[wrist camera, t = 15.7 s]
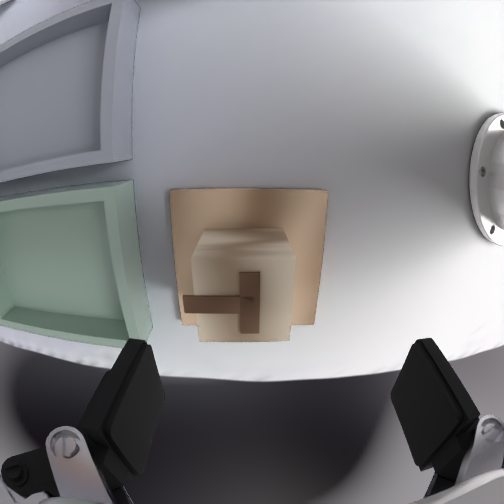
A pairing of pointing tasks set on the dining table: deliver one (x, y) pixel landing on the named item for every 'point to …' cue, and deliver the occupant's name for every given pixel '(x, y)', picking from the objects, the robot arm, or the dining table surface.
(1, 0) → the lidded jar
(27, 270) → the green tray
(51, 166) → the slate tray
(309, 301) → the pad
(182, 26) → the dining table surface
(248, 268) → the letter cube
